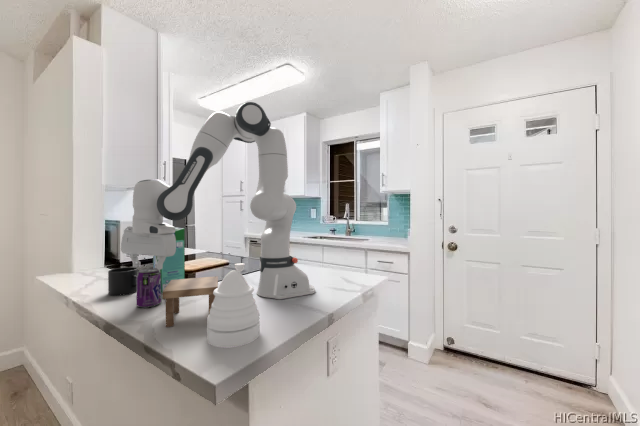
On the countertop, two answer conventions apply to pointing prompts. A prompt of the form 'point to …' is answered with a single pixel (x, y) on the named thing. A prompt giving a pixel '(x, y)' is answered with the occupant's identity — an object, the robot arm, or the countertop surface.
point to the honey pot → (233, 312)
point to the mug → (122, 281)
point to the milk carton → (173, 261)
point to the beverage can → (148, 287)
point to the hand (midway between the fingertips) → (147, 268)
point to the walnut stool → (187, 293)
